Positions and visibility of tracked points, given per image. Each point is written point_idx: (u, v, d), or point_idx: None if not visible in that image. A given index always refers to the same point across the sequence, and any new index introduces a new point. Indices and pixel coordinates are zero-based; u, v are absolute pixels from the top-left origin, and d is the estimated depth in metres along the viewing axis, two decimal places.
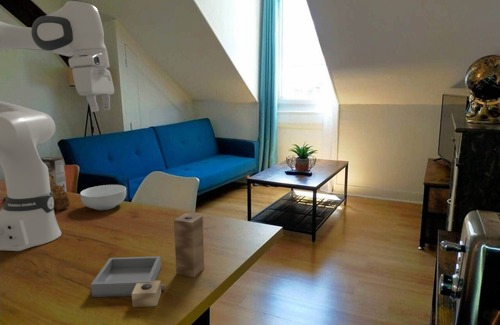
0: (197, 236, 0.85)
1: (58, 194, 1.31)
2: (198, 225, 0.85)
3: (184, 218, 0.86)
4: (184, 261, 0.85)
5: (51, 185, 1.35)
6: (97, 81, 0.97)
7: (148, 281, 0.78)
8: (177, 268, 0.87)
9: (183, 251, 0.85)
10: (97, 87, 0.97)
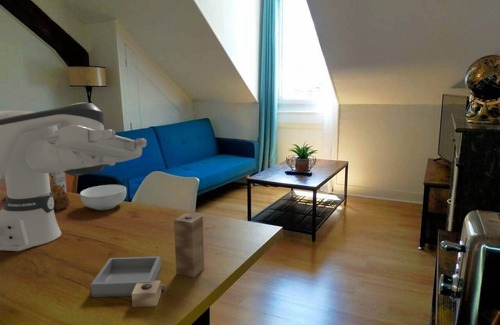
0: (197, 236, 0.85)
1: (58, 194, 1.32)
2: (198, 225, 0.85)
3: (184, 218, 0.86)
4: (184, 261, 0.85)
5: (51, 185, 1.35)
6: (115, 154, 0.82)
7: (148, 281, 0.78)
8: (177, 268, 0.87)
9: (183, 251, 0.85)
10: (122, 154, 0.82)
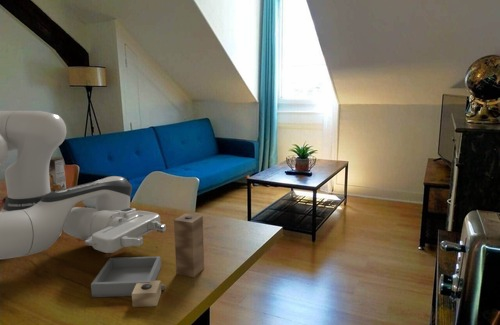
0: (197, 236, 0.85)
1: None
2: (198, 225, 0.85)
3: (184, 218, 0.86)
4: (184, 261, 0.85)
5: (50, 184, 1.36)
6: None
7: (148, 281, 0.78)
8: (177, 268, 0.87)
9: (183, 251, 0.85)
10: None
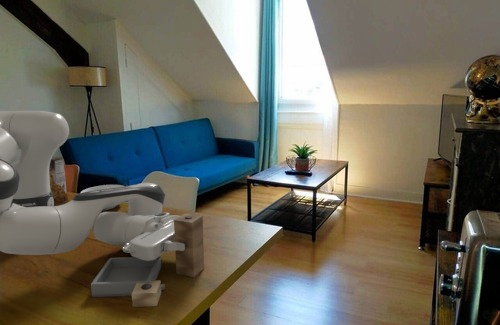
0: (197, 236, 0.85)
1: (57, 193, 1.33)
2: (198, 225, 0.85)
3: (184, 218, 0.86)
4: (184, 261, 0.85)
5: (50, 184, 1.36)
6: None
7: (148, 281, 0.78)
8: (177, 268, 0.87)
9: (183, 251, 0.85)
10: None
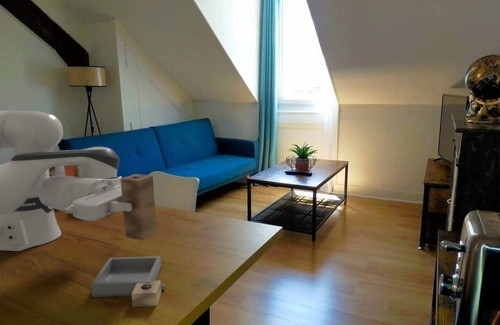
0: (146, 196, 0.81)
1: None
2: (147, 185, 0.80)
3: (132, 177, 0.81)
4: (133, 223, 0.80)
5: None
6: None
7: (148, 281, 0.78)
8: (126, 231, 0.82)
9: (131, 212, 0.80)
10: None
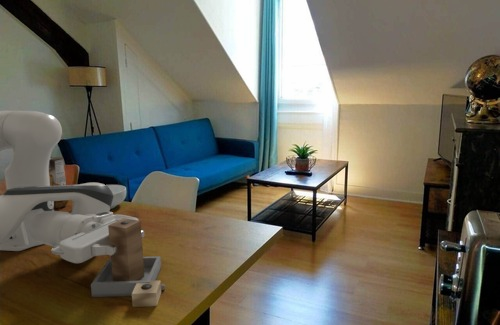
0: (134, 242, 0.80)
1: None
2: (134, 231, 0.80)
3: (120, 223, 0.81)
4: (120, 269, 0.80)
5: (50, 183, 1.37)
6: None
7: (148, 281, 0.78)
8: (113, 276, 0.82)
9: (118, 258, 0.80)
10: None
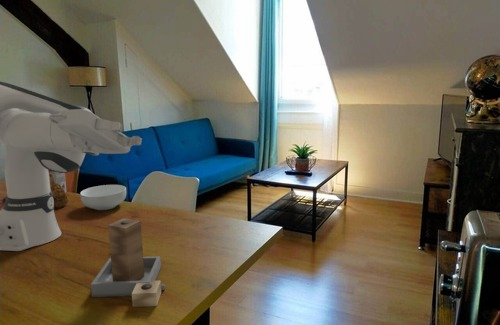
0: (134, 242, 0.80)
1: (57, 192, 1.34)
2: (134, 231, 0.80)
3: (120, 223, 0.81)
4: (120, 269, 0.80)
5: None
6: (106, 146, 0.84)
7: (148, 281, 0.78)
8: (113, 276, 0.82)
9: (118, 258, 0.80)
10: (114, 147, 0.85)
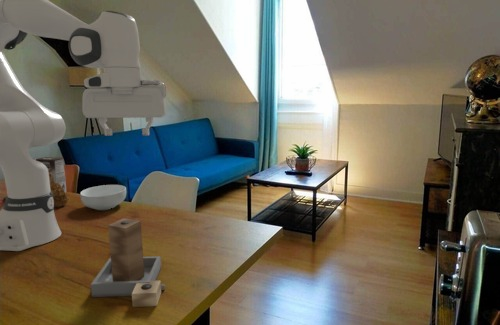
0: (134, 242, 0.80)
1: (56, 191, 1.35)
2: (134, 231, 0.80)
3: (120, 223, 0.81)
4: (120, 269, 0.80)
5: None
6: (105, 104, 0.87)
7: (148, 281, 0.78)
8: (113, 276, 0.82)
9: (118, 258, 0.80)
10: (103, 110, 0.88)
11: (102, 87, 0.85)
